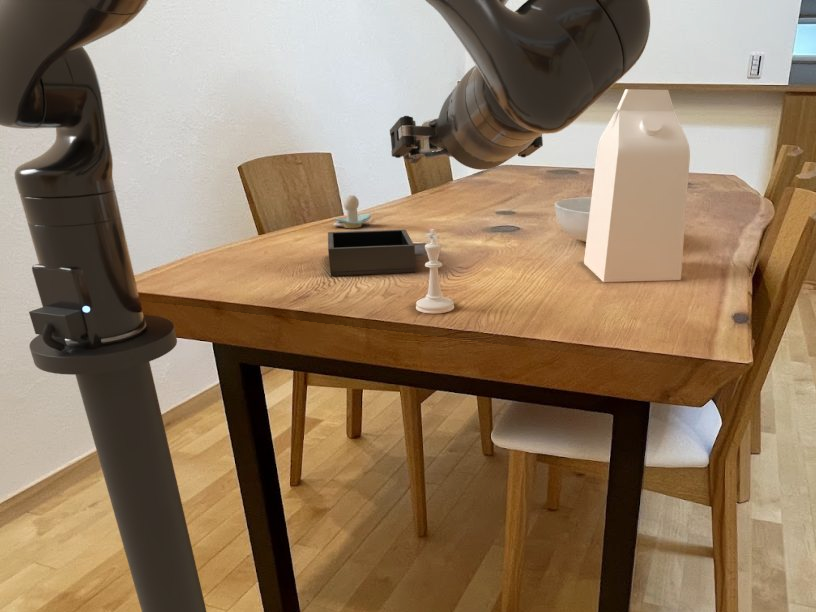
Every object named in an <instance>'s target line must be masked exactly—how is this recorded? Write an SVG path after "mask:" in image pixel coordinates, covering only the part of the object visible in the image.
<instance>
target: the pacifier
mask: <svg viewBox="0 0 816 612" xmlns="http://www.w3.org/2000/svg"><path fill="white" fill-rule="evenodd" d="M359 204H360V202H359V199H358V198H357V196H356V195H353V194H351V195H348V196H347V197H346V198H345V199H344V201H343V205H344V209H345V210H346V217H337V216H333V219H334V220H336V221H335V222H334V223H333V224H332V225H333V226H335V227H340V228H341V227H342V228H345V229H357V228H361V227H362V225H363V224H364V223H366V222H368V221H369V220H370V219H371V214H370V213H368V212H367V213H361V214H358V208H359Z"/></svg>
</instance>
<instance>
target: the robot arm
mask: <svg viewBox="0 0 816 612" xmlns="http://www.w3.org/2000/svg"><path fill="white" fill-rule="evenodd" d="M424 1H425V2H426V3H428V4H429V5H430V6H431V7H432V8H433V9H434V10H435V11H436V12H437V13H438V14H439V15H440V16H441V17H442V19H443V20H444V21H445V22H446V24H447V25H448V26H449V28H450V30H451V31H452V32H453V34H454V35H455V36H456V38H457V39H458V40H459V42H460V43H461V45H462V46H463V48H464V49H465V51H466V52H467V54H468V55H469V57H470V58H471V60H472V62H473V63H474V65H473V67H471V68H470V69H468V71H467V72H466V73H465V74H464V76H462V78H461V79H460V81H459V82H458V83H457V84H456V86H455V87H454V88H453V90H452V91H451V92H450V93H449V94H448V96H447V97H446V98H445V100H444V102H443V104H442V106H441V109H440V112H439V115H438V117H437V118H433V119H429V120H425V121H423V123H422V124H421V125H416V120H414V117H413V116H409V115H403V116H401V117H399V118H398V119H397V120H396V122H395V123H394V124H393V125H392V127H390V129H389V136H390V144H391V145H390V146H391V157H393V158H396V159H401V157H403V158H404V160H408V162H409V164H417V163H419V161H421V159H422V158H426V159H430V160H440V159H445V158H450V157H452V158H453V159H454V160H456V161H457V162H459V164H461V165H463V166H465V167H467V168H470V169H474V170H480V171H481V170H483V171H484V170H491V169H495V168H497V167H499V166H501V165H502V164H505V163H506V162H507V161H509V160H511V159H512V158H513V157H515V156H517V157H520V158H527V157H529V156H530V155H532V154H533V153H535V152H536V151H537V150H539V149H540V148H542V147H543V145H544V142H543V141H544V140H543V135H544V134H547V135H549V134H556V133H559V132H561V131H563V130H564V129H566V128H568V127H569V126H571V125H572V124H573V123H574V122H576V120H578V119H579V118H580V117H581V116H582V115H583V114H584V113H585V112H586V111H587V110H588V109H589V108H590V107H591V106H592V105H594V103H595V102H596V101H598V100H599V99H600V98H601V97H602V96H603V95H604V94H606V92H608V91H609V90H610V89H611V88H612V87H613V86H614V85H615V84H616V83H617V82H619V81H620V80H621V79H622V78H623V77H624V76H626V74H627V73H629V71H631V69H633V67H634V66H635V65H636V64H637V62H638V61H639V60H640V58H641V57H642V55H643V52H644V51H645V49H646V46H647V44H648V40H649V38H650V37H649V36H650V31H651V9H650V5H649V4H650V3H649V0H526V1H525V2H524V3H523V4H521V5H520V6H519V7H518V8H517V9H516V10H514V11H513V10H512V9H510V8H509V7H507V6H506V5H507V3H508V2H509V0H424ZM148 2H149V0H0V126H2V127H6V128H11V129H20V130H21V129H23V130H24V129H25V130H28V129H31V130H32V129H33V130H34V129H55V133H56V134H55V140H54V142H53V144H52V145H51V146H50V147H49V148H48V149H47V150H46V151H45V152H44V153H42V154H40V155H39V156H37V157H35V158H33V159H31V160H29V161H26V162H24V163H22V164H20V165H18V166H17V167H16V168H15V170H14V174H13V175H14V181H15V185H16V187H17V191H18V194H19V198H20V201H21V205H22V208H23V211H24V215H25V220H26V222H27V226H28V230H29V234H30V236H31V240H32V244H33V248H34V251H35V254H36V258H37V261H38V263H36V264H33V265H32V266H31V271H32V274H33V278H34V281H35V285H36V289H37V292H38V295H39V300H40V303H41V305H42V307H39V308H36V309H33V310H30V311H28V313H29V314H28V315H29V317H30V320H31V324H32V326H33V331H34V334H35V335H42V338H43V341H44V342H45V344H47V345H48V346H49V347H51V348H54V349H57V350H59V351H62V350H63V349H64V348H65V346H72V347H79V348H87V349H97V348H99V347H102V346H106V345H112V344H117V343H121V342H125V341H128V340H131V339H134V338H136V337H138V336H140V335H142V334H143V333H145V332H146V330H147V325H146V321H145V320H144V316H143V315H144V313H143V312H142V310H143V308H142V303H141V298H140V294H139V290H138V286H137V282H136V276H135V273H134V268H133V264H132V260H131V255H130V254H131V253H130V250H129V246H128V242H127V237H126V232H125V229H124V224H123V220H122V219H123V218H122V215H121V210H120V206H119V202H118V197H117V193H116V192H117V191H116V189H115V183H114V179H113V178H114V177H113V169H114V163H113V153H112V150H111V149H112V148H111V143H110V137H109V132H108V126H107V120H106V114H105V108H104V101H103V100H104V99H103V95H102V91H101V90H102V89H101V84H100V81H99V78H98V74H97V71H96V68H95V65H94V63H93V61H92V58H91V57H90V55H89V54H88V52H87V50H86V49H85V48H84V47H85V46H88V45H89V44H91V43H94V42H96V41H99V40H101V39H102V38H105V37H106V36H108V35H111V34H113V33H114V32H116V31H119V30H120V29H121V28H123V27H125V26H127V25H128V24H129V23H130V22H132V21H133V20H134V19H135V18H137V17H138V15H139V14H140V13H141V11H142V10H143V9H145V7H146V5H147V4H148ZM422 141H423V147H422Z"/></svg>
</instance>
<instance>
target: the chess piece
mask: <svg viewBox="0 0 816 612" xmlns="http://www.w3.org/2000/svg"><path fill="white" fill-rule="evenodd" d="M425 238H426V239H429V240H430V241H429V242H428V243H426V244H425V245H424V250H425V252H426V255H427V258H428V261H426V262H425V264H424V266H425V268H429V277H428V289H427V293H426V294H425V297H421V298H420V299H418V300H417V301H416V303H415V310H416V311H418V312H420V313H423V314H434V315H437V314H444V313H449V312H451V311H453V310H454V309H455V305H454V304H455V302H454V300H453V299H451V298H449V297H446V296H444V294H443V293H442V289H441V285H440V283H441V282H440V277H439V270H438V268H441V267H442V266H443V263H442V262H440V261H439V260H438V259H439V257H440V252H441V248H442V245H441V244H440V243H437V242H436V240H439V239H440V234H436V229H434V228H429V233H426V234H425Z"/></svg>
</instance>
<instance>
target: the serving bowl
mask: <svg viewBox="0 0 816 612" xmlns="http://www.w3.org/2000/svg"><path fill="white" fill-rule="evenodd" d="M591 197H592V196H584V197H583V196H580V197H570V198H564V199H559V200H557V201H556V202H554V214H555V217H556V221H557V223H558V225H559V227H560V228H561V229H562V231H564V233H566V234H567V236H570V237H572V238H574V239H576V240H578V241H582V242H584V243H586V240H587V232H588V223H589V214H590V206H591Z"/></svg>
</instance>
